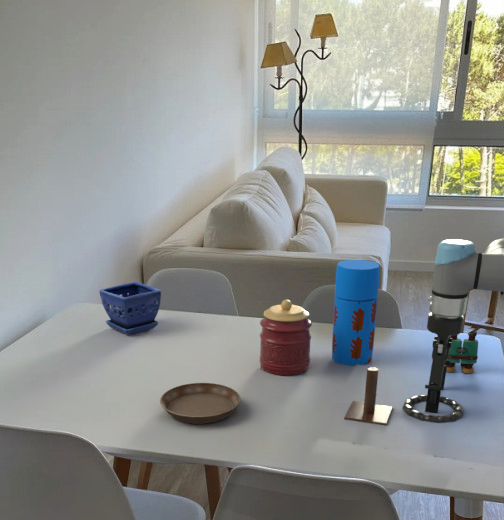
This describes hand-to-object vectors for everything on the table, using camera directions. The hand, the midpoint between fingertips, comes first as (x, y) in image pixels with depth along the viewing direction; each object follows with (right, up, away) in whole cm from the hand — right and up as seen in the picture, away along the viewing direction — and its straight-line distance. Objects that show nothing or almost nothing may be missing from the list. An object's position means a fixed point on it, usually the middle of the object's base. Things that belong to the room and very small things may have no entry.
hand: (434, 403), depth 161 cm
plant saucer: (-53, -2, -4) cm, 53 cm away
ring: (-2, -2, -5) cm, 6 cm away
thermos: (-15, +12, +26) cm, 33 cm away
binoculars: (+11, +10, +21) cm, 26 cm away
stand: (-16, -3, -7) cm, 18 cm away
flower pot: (-77, +23, +47) cm, 93 cm away
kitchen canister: (-33, +10, +20) cm, 40 cm away
